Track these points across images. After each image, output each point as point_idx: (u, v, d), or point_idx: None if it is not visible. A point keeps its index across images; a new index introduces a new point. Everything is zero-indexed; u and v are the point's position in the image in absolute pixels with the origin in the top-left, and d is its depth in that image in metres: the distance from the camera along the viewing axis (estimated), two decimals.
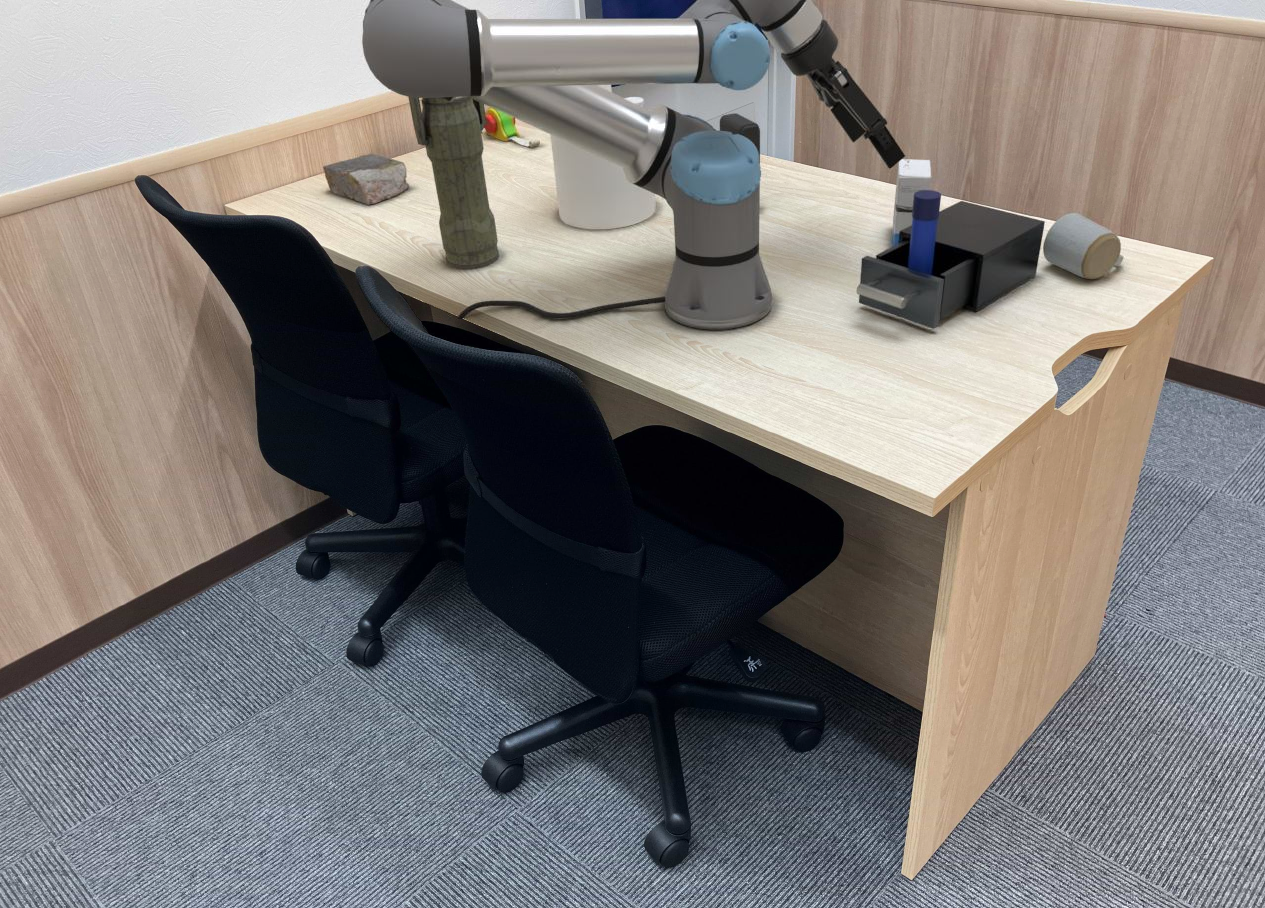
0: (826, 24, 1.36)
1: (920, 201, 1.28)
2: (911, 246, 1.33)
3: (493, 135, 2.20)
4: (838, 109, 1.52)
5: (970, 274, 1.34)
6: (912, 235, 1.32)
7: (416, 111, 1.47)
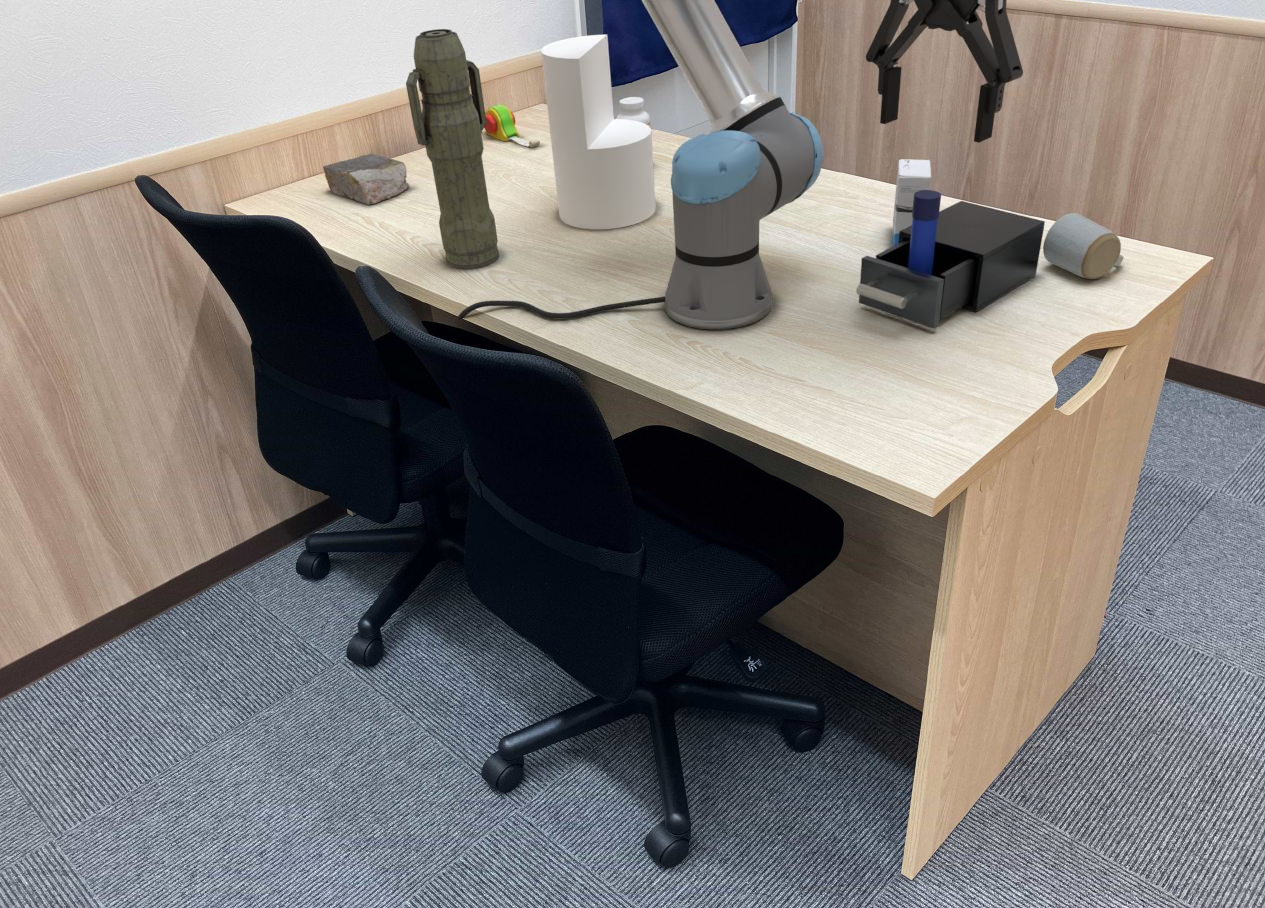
0: None
1: (920, 201, 1.28)
2: (911, 246, 1.33)
3: (493, 135, 2.20)
4: (892, 75, 1.25)
5: (970, 274, 1.34)
6: (912, 235, 1.32)
7: (416, 111, 1.47)
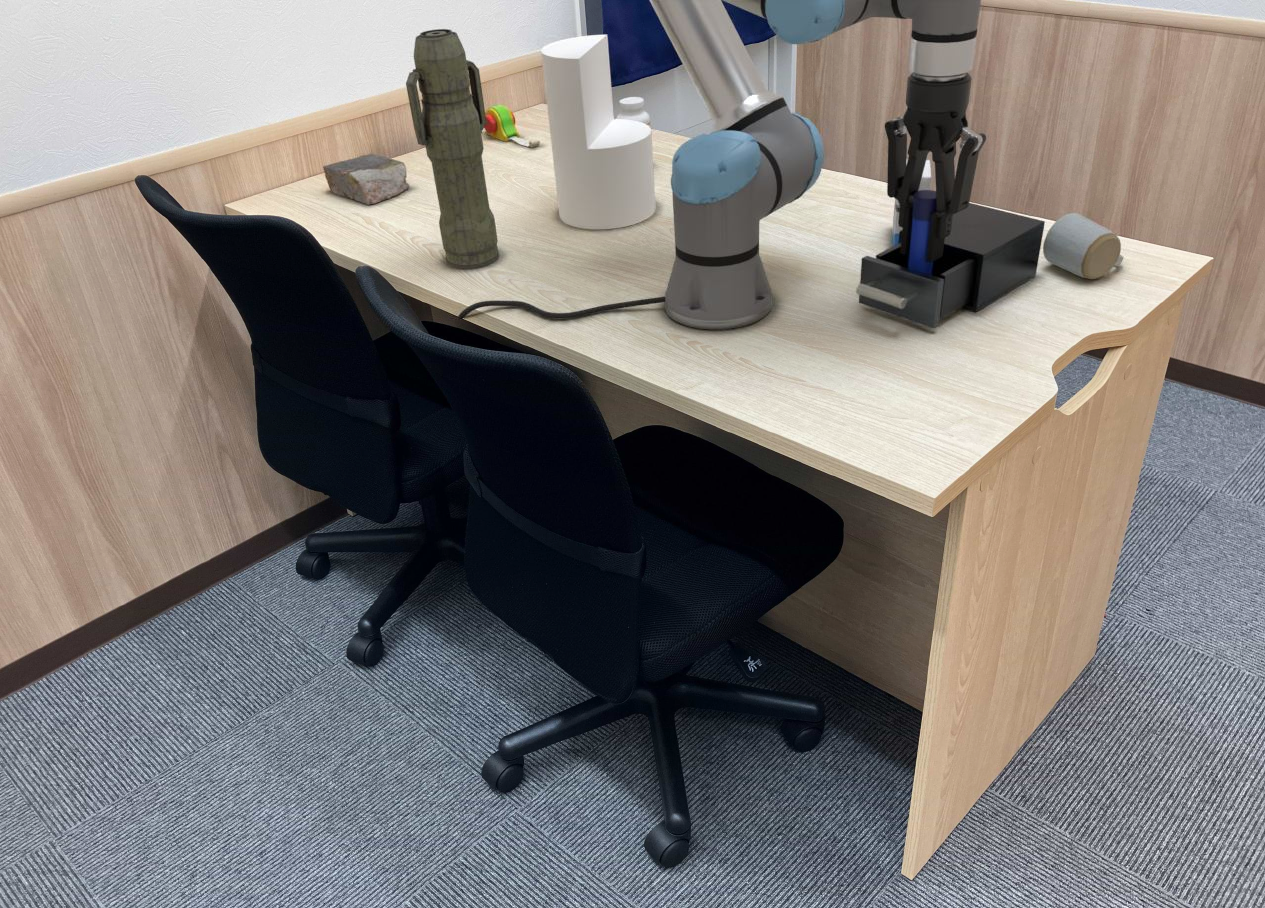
0: None
1: (920, 201, 1.28)
2: (911, 246, 1.33)
3: (493, 135, 2.20)
4: None
5: (970, 274, 1.34)
6: (912, 235, 1.32)
7: (416, 111, 1.47)
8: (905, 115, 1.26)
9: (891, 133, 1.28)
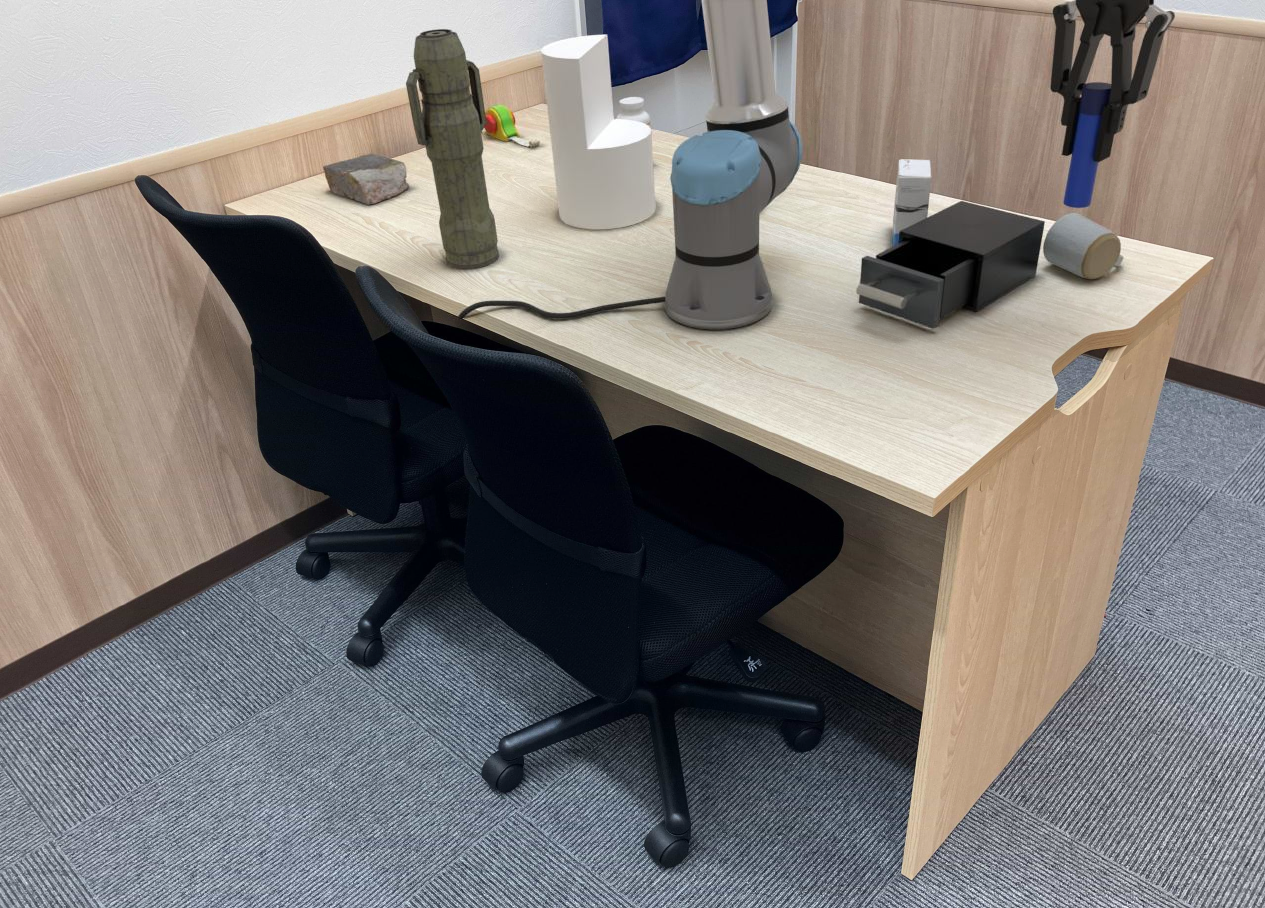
0: None
1: (1091, 92, 1.18)
2: (1076, 145, 1.22)
3: (493, 135, 2.20)
4: None
5: (970, 274, 1.34)
6: (1078, 132, 1.21)
7: (416, 111, 1.47)
8: None
9: (1060, 18, 1.18)
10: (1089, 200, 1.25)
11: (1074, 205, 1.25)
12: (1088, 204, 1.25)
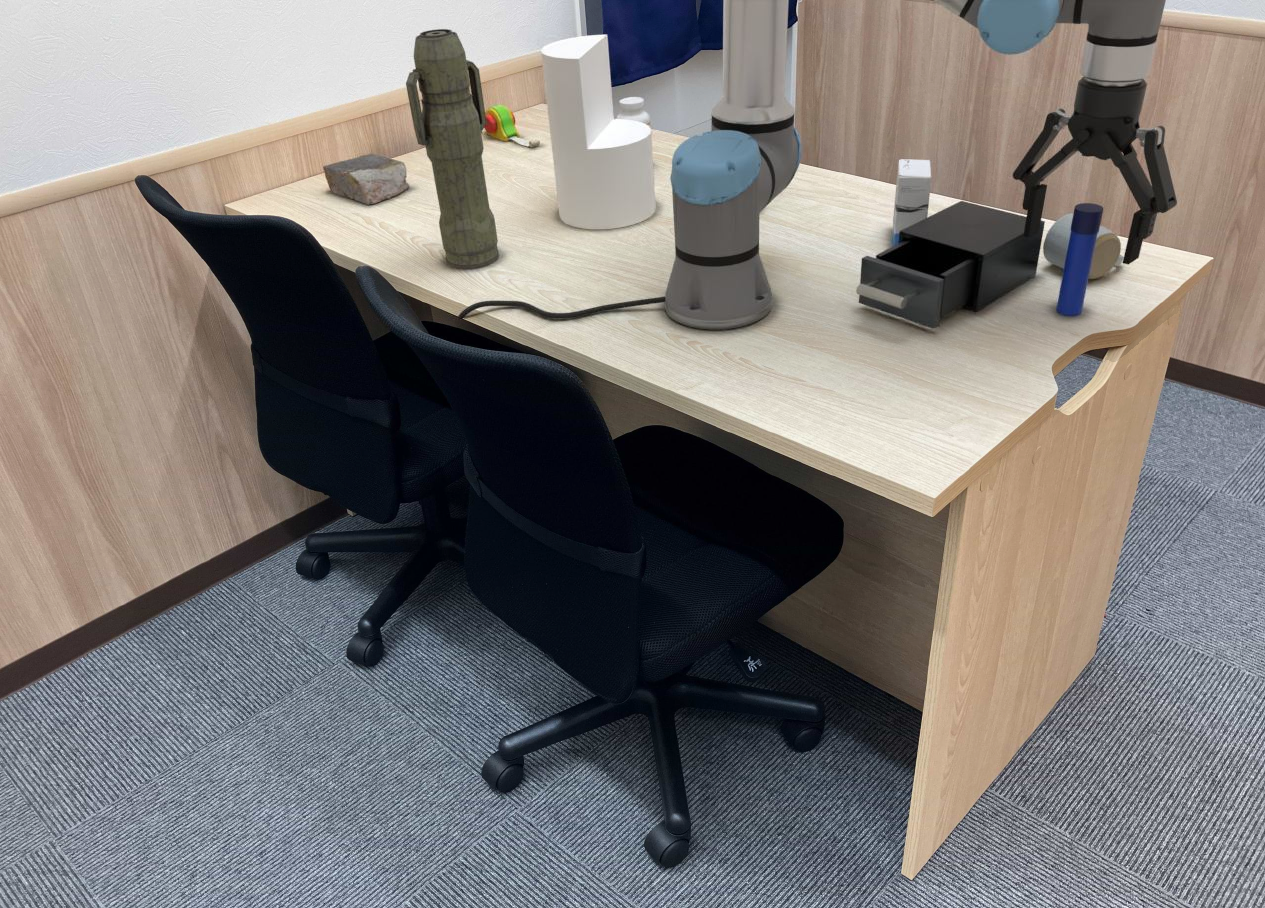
0: None
1: (1082, 214, 1.26)
2: (1068, 260, 1.30)
3: (493, 135, 2.20)
4: (1039, 193, 1.30)
5: (970, 274, 1.34)
6: (1070, 249, 1.30)
7: (416, 111, 1.47)
8: (1071, 120, 1.23)
9: (1049, 125, 1.25)
10: (1080, 309, 1.33)
11: (1066, 313, 1.34)
12: (1079, 312, 1.34)
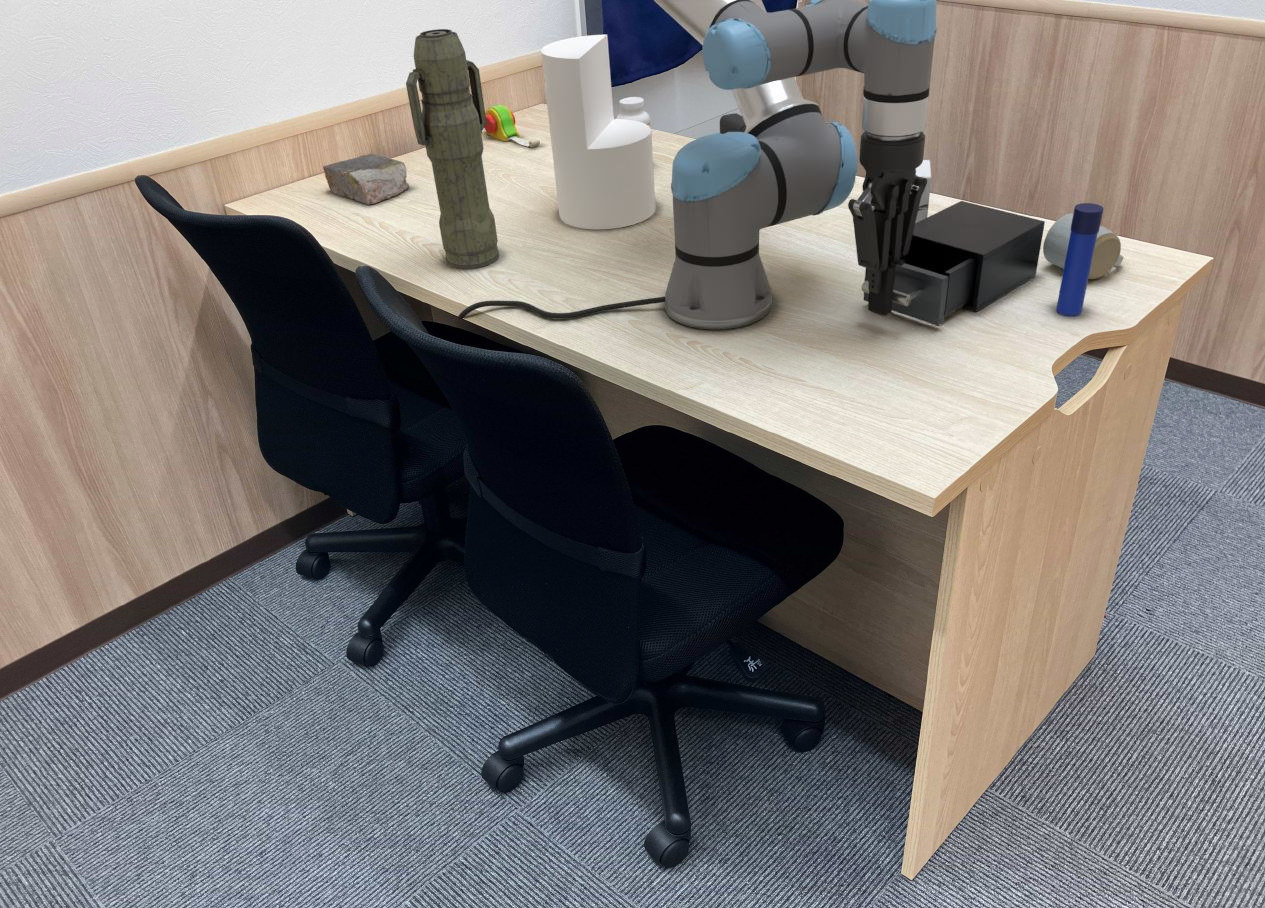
0: None
1: (1082, 214, 1.26)
2: (1068, 260, 1.30)
3: (493, 135, 2.20)
4: None
5: (974, 272, 1.34)
6: (1070, 249, 1.30)
7: (416, 111, 1.47)
8: (878, 185, 1.19)
9: (870, 212, 1.20)
10: (1080, 309, 1.33)
11: (1066, 313, 1.34)
12: (1079, 312, 1.34)
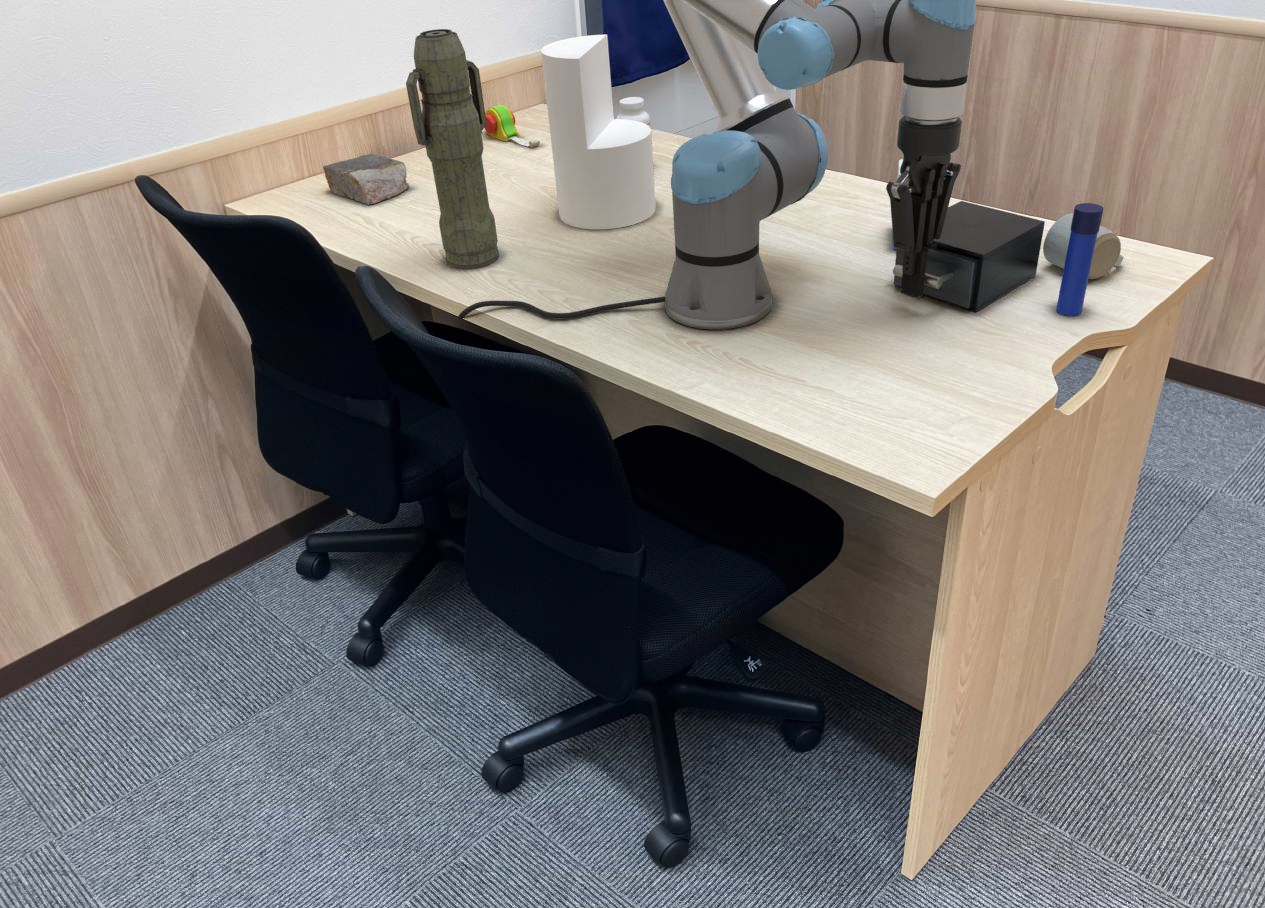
0: None
1: (1082, 214, 1.26)
2: (1068, 260, 1.30)
3: (493, 135, 2.20)
4: None
5: None
6: (1070, 249, 1.30)
7: (416, 111, 1.47)
8: (915, 168, 1.23)
9: (907, 194, 1.24)
10: (1080, 309, 1.33)
11: (1066, 313, 1.34)
12: (1079, 312, 1.34)
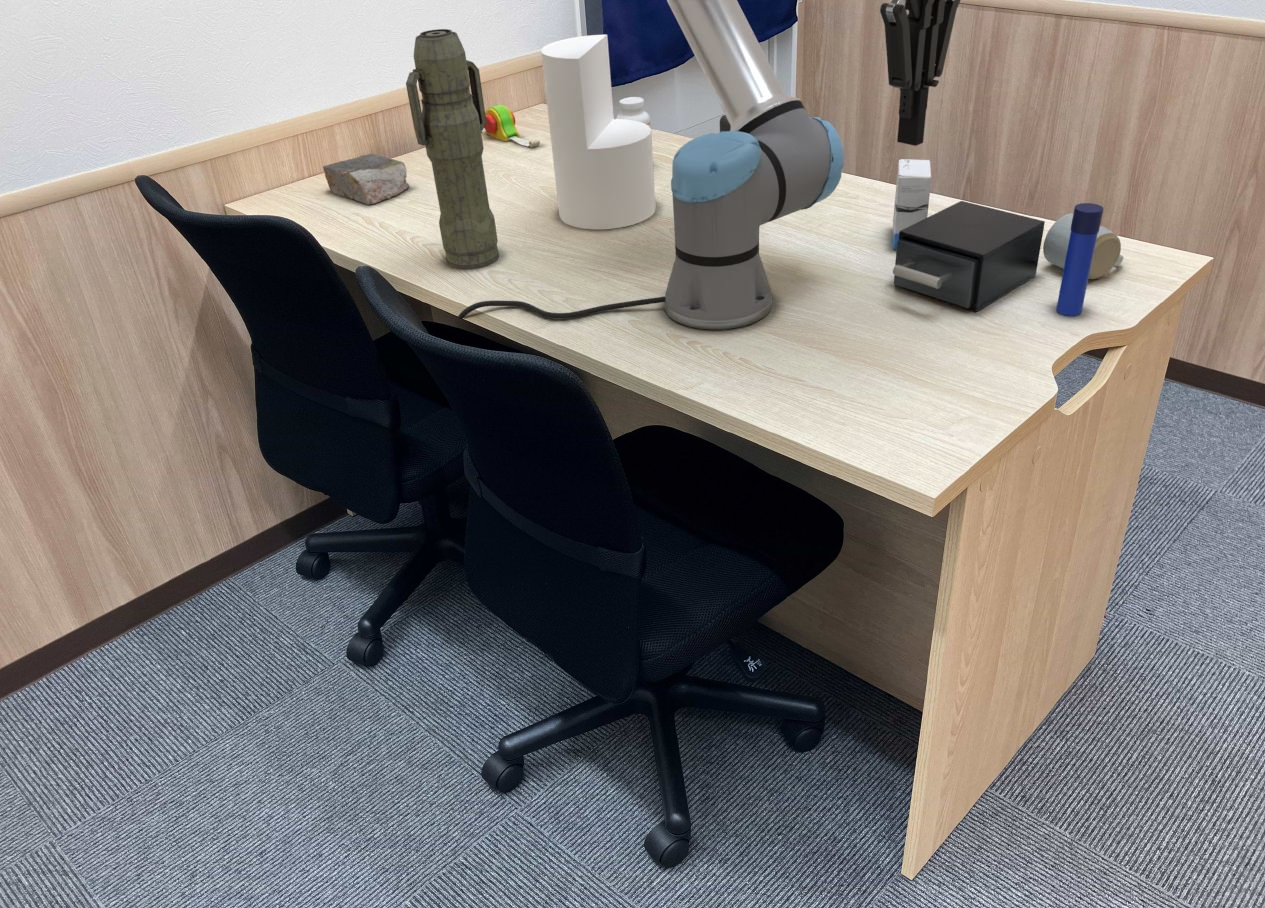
0: None
1: (1082, 214, 1.26)
2: (1068, 260, 1.30)
3: (493, 135, 2.20)
4: None
5: None
6: (1070, 249, 1.30)
7: (416, 111, 1.47)
8: None
9: (904, 16, 1.10)
10: (1080, 309, 1.33)
11: (1066, 313, 1.34)
12: (1079, 312, 1.34)
